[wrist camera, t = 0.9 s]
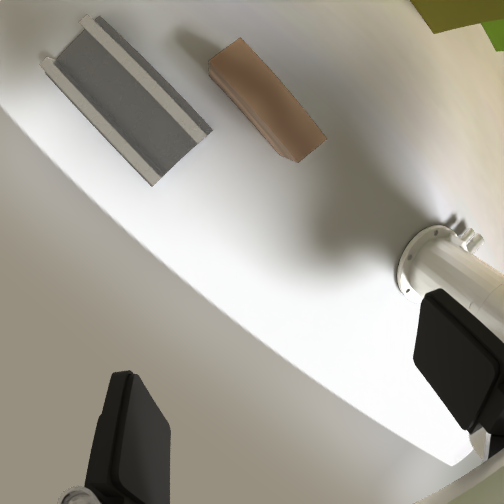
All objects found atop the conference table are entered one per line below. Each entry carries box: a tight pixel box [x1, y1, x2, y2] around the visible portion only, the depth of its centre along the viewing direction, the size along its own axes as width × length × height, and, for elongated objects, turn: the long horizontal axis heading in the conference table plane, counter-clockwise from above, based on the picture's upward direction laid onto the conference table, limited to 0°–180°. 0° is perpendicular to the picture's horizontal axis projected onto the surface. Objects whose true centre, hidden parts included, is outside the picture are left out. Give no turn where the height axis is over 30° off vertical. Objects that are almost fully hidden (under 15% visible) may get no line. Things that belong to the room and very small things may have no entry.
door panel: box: [209, 38, 327, 163], centre depth 28 cm, size 4×12×8 cm, turn 41°
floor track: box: [40, 15, 213, 187], centre depth 28 cm, size 9×20×4 cm, turn 41°
